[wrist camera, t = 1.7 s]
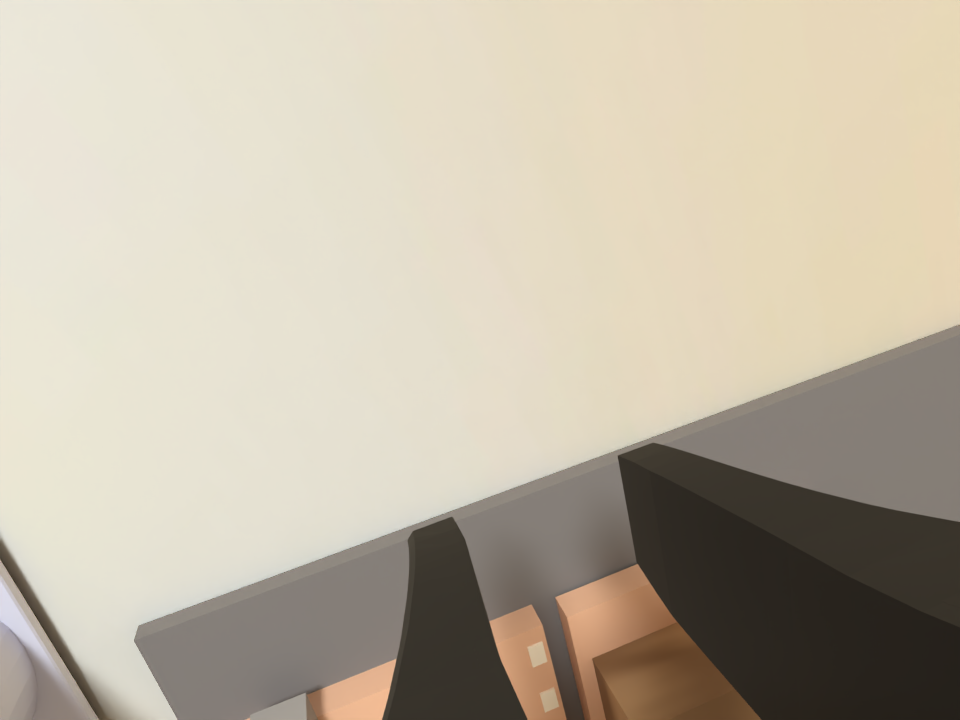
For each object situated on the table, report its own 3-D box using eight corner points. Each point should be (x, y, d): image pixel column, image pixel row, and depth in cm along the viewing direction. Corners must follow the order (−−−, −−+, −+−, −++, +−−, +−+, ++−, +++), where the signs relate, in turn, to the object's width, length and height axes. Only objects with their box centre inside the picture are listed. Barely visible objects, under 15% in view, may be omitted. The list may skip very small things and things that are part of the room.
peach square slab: (604, 800, 25) (658, 911, 21) (555, 597, 21) (610, 689, 18) (824, 696, 27) (910, 783, 23) (813, 493, 23) (912, 557, 19)
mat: (333, 984, 25) (335, 1003, 24) (138, 626, 19) (134, 640, 18) (966, 677, 30) (978, 687, 30) (984, 315, 24) (1001, 319, 23)
